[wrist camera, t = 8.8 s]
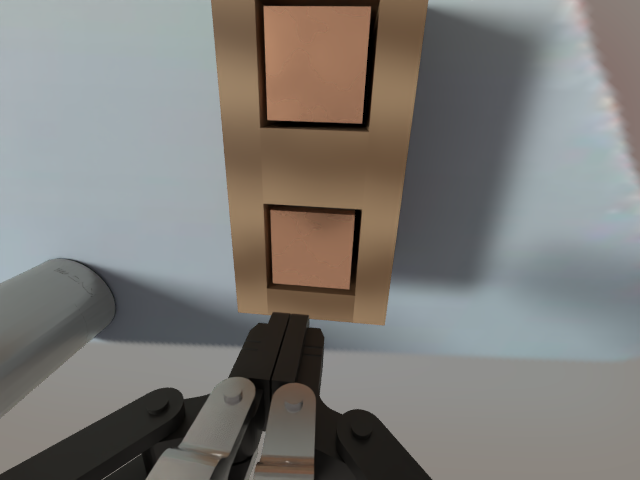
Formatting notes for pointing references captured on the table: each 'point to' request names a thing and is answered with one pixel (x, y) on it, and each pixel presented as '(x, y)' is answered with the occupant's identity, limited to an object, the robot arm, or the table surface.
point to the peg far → (312, 245)
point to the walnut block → (317, 158)
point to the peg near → (316, 62)
